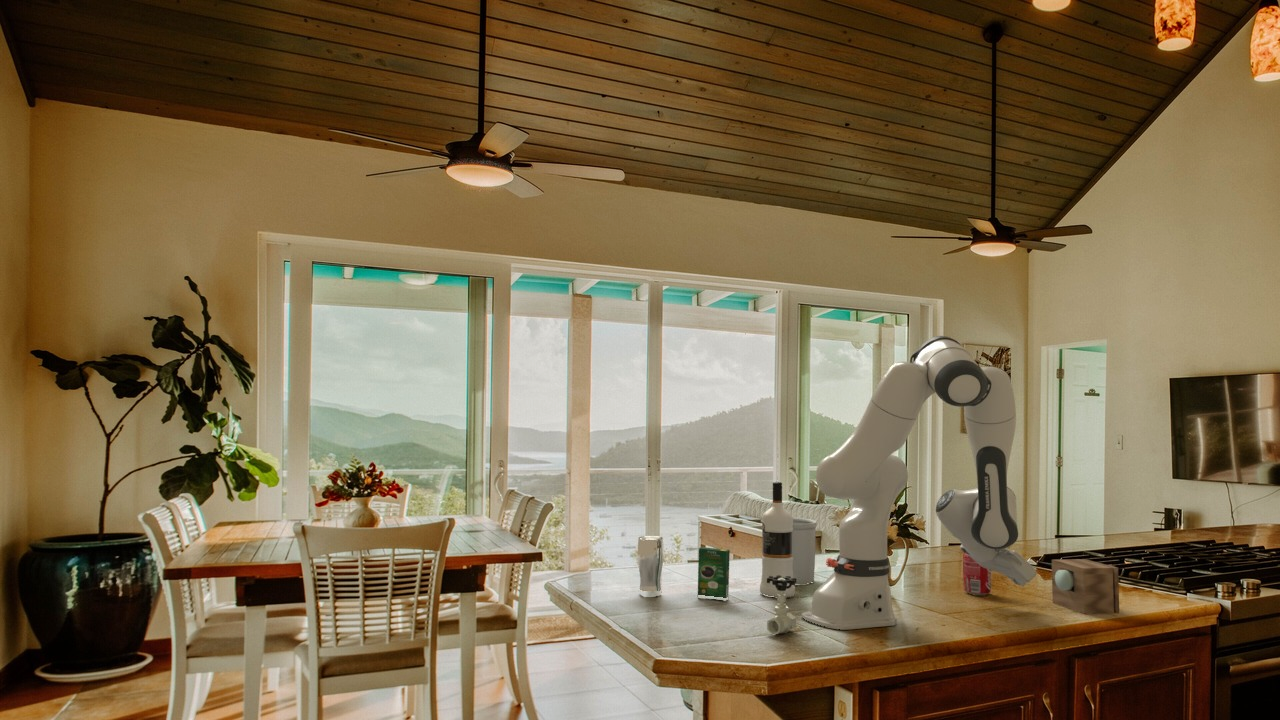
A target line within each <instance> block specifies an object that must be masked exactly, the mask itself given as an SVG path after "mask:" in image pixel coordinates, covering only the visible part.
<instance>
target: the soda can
mask: <svg viewBox="0 0 1280 720" xmlns="http://www.w3.org/2000/svg"><path fill="white" fill-rule="evenodd" d="M962 581H963V582H962V584H963V585H962V586H963V590H964V591H965V592H966V593H967V594H968V593H970V594H969V595H971V594H975V595H974V596H978V595H985V596H987V595H988V594H990V593H991V591H992V570H989V569H986V568H983V567H982V566H980V565H979V564H978V563H977V562H976V561H974V560H973V559H972V558H971V557H970V556H969V555H968V554H966V553H964V552H963V555H962ZM986 594H987V595H986Z"/></svg>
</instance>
